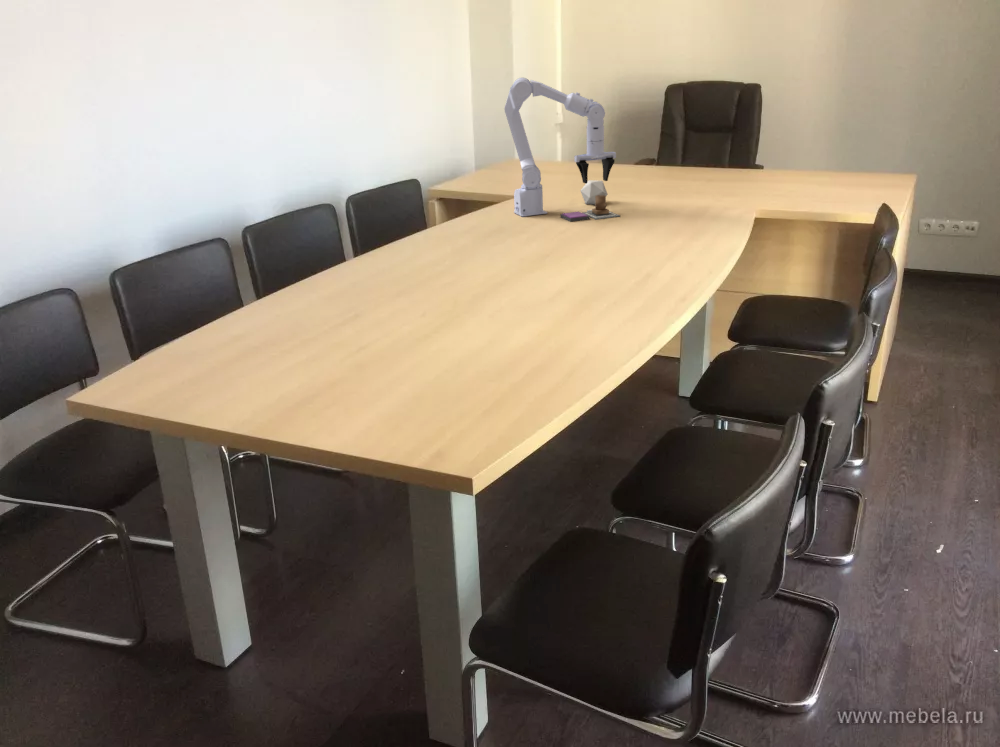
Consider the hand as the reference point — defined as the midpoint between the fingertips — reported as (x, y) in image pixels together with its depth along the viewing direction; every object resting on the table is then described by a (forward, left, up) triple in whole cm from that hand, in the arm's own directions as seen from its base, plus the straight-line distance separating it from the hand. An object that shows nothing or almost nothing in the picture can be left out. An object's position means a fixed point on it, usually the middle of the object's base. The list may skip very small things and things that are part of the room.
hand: (595, 181), depth 285 cm
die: (+5, +11, -10) cm, 16 cm away
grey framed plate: (-1, -7, -10) cm, 12 cm away
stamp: (-1, -7, -10) cm, 12 cm away
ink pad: (-11, -7, -10) cm, 16 cm away
